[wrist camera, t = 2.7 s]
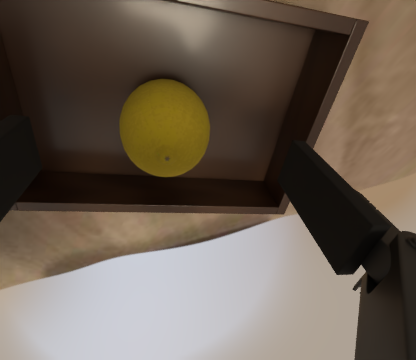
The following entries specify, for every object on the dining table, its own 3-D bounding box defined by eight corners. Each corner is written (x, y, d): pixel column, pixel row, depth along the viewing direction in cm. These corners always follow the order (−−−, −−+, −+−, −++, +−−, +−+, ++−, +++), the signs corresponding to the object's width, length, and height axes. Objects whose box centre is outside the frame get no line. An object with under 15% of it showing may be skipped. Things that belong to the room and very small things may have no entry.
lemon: (183, 148, 21) (191, 212, 15) (117, 122, 19) (94, 183, 12) (214, 89, 18) (241, 133, 12) (143, 51, 16) (129, 80, 10)
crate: (31, 176, 21) (5, 210, 17) (-38, -57, 13) (-114, -81, 9) (267, 185, 25) (284, 214, 22) (327, 18, 17) (369, 21, 14)
